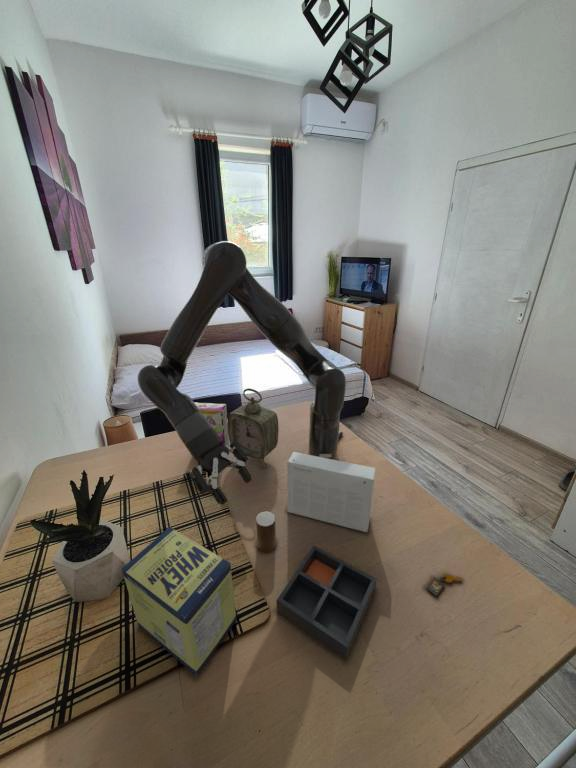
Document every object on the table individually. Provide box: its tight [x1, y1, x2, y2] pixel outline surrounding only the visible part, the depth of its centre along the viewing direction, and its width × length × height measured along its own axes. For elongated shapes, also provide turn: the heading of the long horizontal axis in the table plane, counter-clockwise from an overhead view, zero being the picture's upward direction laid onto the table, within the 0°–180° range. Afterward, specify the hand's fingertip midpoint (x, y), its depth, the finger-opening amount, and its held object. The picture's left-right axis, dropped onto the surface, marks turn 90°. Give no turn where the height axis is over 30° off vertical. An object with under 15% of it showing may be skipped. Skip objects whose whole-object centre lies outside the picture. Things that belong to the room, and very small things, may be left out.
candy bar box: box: [193, 401, 230, 447], centre depth 109 cm, size 11×5×16 cm, turn 84°
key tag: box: [425, 573, 463, 597], centre depth 68 cm, size 8×3×1 cm, turn 116°
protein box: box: [121, 526, 238, 677], centre depth 57 cm, size 10×16×16 cm
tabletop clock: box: [227, 387, 280, 469], centre depth 102 cm, size 14×9×25 cm, turn 58°
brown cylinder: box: [255, 511, 277, 553], centre depth 75 cm, size 4×4×8 cm
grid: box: [276, 545, 378, 660], centre depth 64 cm, size 14×14×4 cm
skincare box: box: [286, 451, 377, 533], centre depth 82 cm, size 21×6×16 cm, turn 71°
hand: (237, 491), depth 76 cm, fingers open, 8 cm apart
